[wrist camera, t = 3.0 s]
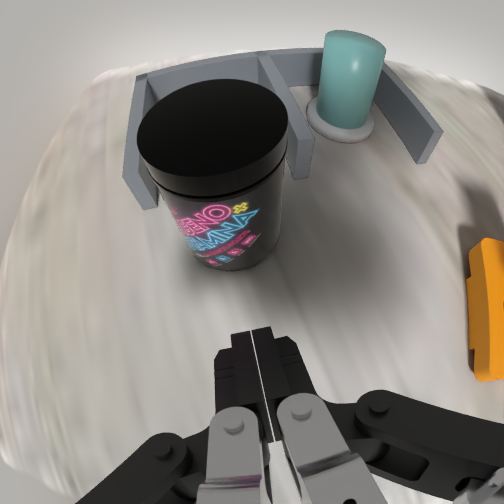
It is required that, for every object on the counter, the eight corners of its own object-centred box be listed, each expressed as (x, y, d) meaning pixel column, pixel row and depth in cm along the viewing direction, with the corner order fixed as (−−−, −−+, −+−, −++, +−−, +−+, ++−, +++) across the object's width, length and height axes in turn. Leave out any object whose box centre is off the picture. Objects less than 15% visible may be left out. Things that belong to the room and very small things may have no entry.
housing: (425, 163, 23) (463, 92, 15) (143, 210, 22) (95, 130, 14) (364, 78, 29) (377, 17, 21) (147, 106, 28) (124, 40, 20)
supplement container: (173, 218, 22) (122, 114, 12) (250, 179, 23) (241, 66, 14) (212, 293, 19) (163, 207, 10) (298, 245, 21) (321, 135, 11)
